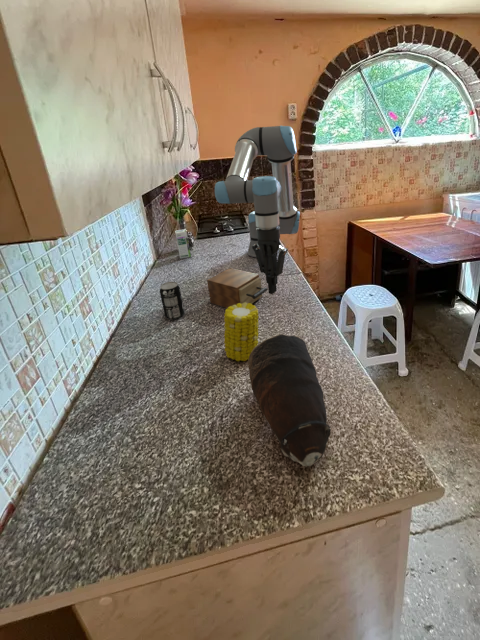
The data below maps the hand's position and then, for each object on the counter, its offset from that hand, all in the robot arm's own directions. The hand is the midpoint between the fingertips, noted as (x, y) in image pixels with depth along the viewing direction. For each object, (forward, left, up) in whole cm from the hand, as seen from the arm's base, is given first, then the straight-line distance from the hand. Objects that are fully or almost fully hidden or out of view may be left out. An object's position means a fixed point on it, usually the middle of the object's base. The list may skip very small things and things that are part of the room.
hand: (272, 292), depth 107 cm
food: (+23, +5, -8) cm, 25 cm away
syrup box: (-25, -76, -8) cm, 80 cm away
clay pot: (+36, +30, -8) cm, 48 cm away
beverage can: (+19, -30, -8) cm, 36 cm away
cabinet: (0, -18, -7) cm, 19 cm away
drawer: (0, -14, -7) cm, 15 cm away
